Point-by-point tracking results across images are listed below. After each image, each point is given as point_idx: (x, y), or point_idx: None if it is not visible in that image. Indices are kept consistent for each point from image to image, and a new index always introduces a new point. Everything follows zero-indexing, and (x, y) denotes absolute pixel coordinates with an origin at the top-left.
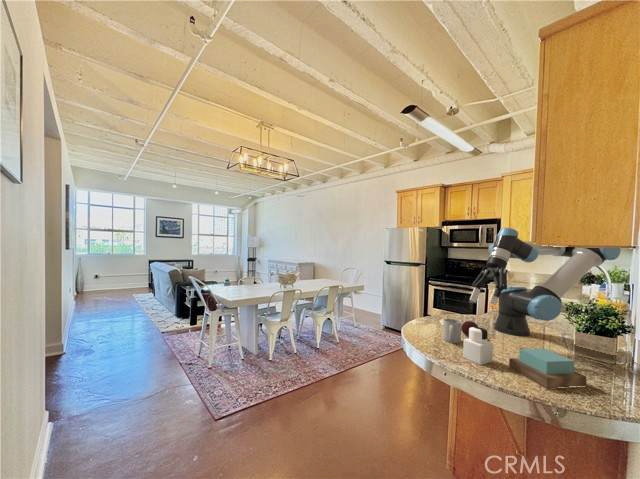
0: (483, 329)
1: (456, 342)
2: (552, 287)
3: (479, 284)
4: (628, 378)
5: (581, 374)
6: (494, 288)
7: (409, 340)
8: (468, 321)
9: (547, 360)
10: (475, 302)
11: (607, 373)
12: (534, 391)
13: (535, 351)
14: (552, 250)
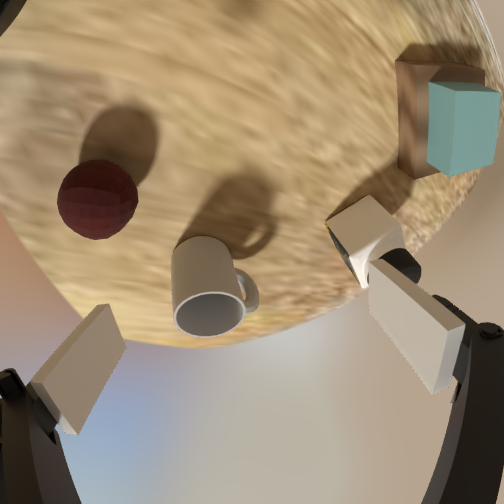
0: (415, 277)
1: (229, 252)
2: None
3: (56, 459)
4: None
5: (479, 70)
6: (436, 389)
7: (235, 342)
8: (92, 227)
9: (491, 157)
10: (109, 305)
11: None
12: (461, 179)
13: (464, 142)
14: None
